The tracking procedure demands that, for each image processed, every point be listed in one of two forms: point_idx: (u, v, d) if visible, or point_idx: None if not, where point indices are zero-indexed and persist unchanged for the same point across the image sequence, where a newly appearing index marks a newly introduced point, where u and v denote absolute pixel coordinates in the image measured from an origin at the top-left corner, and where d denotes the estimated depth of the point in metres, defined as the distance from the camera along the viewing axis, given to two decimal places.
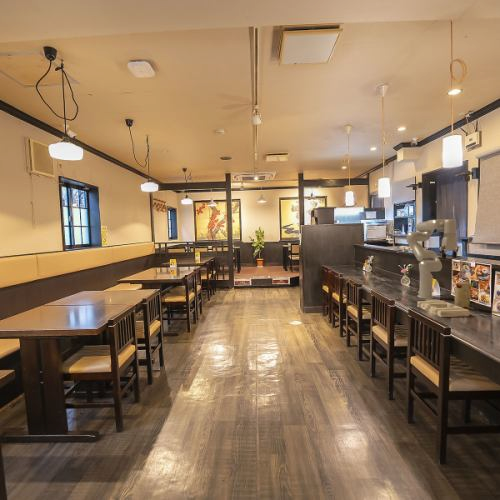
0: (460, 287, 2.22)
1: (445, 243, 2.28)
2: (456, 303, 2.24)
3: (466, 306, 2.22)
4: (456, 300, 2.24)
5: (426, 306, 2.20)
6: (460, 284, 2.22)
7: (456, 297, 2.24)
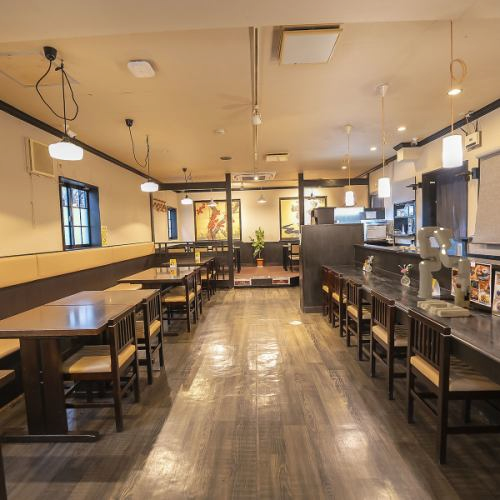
0: (460, 287, 2.22)
1: (469, 284, 2.18)
2: (456, 303, 2.24)
3: (466, 306, 2.22)
4: (456, 300, 2.24)
5: (426, 306, 2.20)
6: (460, 284, 2.22)
7: (456, 297, 2.24)
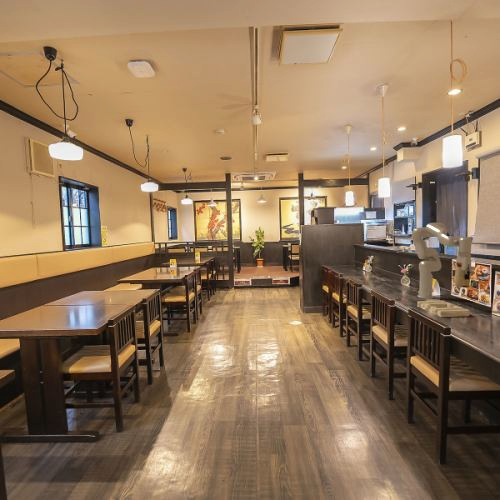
0: (460, 266, 2.21)
1: (470, 263, 2.17)
2: (456, 282, 2.24)
3: (466, 285, 2.21)
4: (456, 279, 2.23)
5: (426, 306, 2.20)
6: (461, 263, 2.21)
7: (456, 276, 2.23)
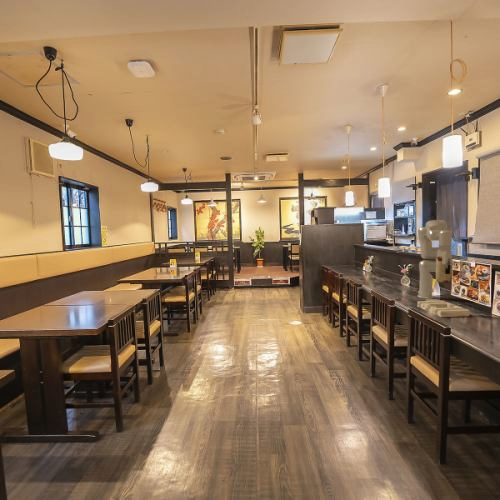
0: (441, 260, 2.14)
1: (450, 257, 2.11)
2: (437, 277, 2.17)
3: (447, 280, 2.14)
4: (437, 274, 2.17)
5: (426, 306, 2.20)
6: (441, 257, 2.14)
7: (437, 271, 2.16)
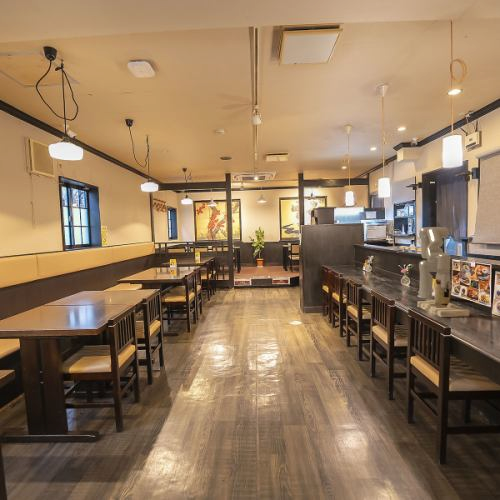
0: (440, 283, 2.15)
1: (449, 280, 2.12)
2: (436, 300, 2.18)
3: (446, 303, 2.15)
4: (436, 296, 2.18)
5: (426, 306, 2.20)
6: (440, 280, 2.16)
7: (436, 293, 2.18)
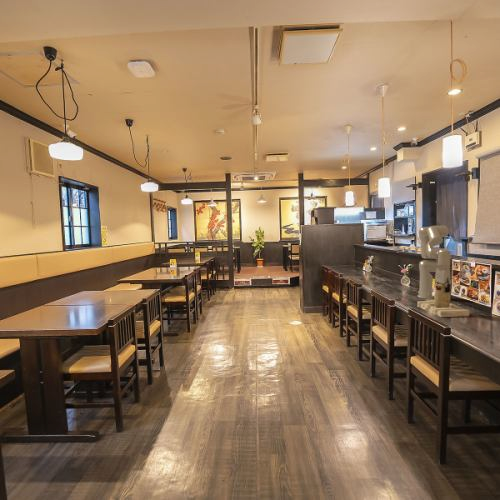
0: (439, 289, 2.16)
1: (449, 276, 2.12)
2: (436, 305, 2.18)
3: None
4: (436, 302, 2.18)
5: (426, 306, 2.20)
6: (439, 286, 2.16)
7: (436, 299, 2.18)
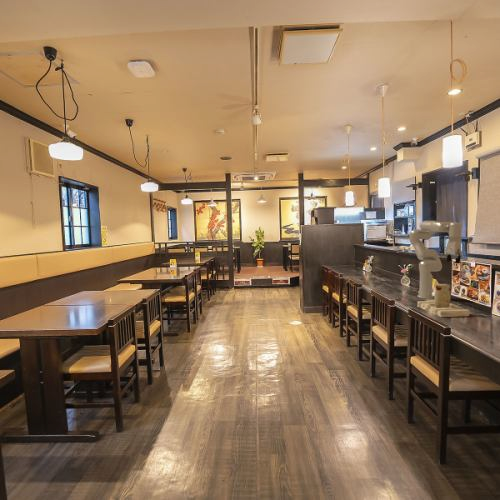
0: (439, 289, 2.16)
1: (460, 247, 2.21)
2: (436, 305, 2.18)
3: None
4: (436, 302, 2.18)
5: (426, 306, 2.20)
6: (440, 286, 2.16)
7: (436, 299, 2.18)
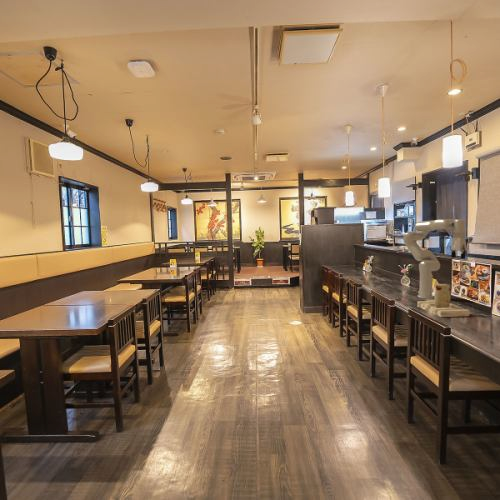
0: (439, 289, 2.16)
1: (464, 243, 2.26)
2: (436, 305, 2.18)
3: None
4: (436, 302, 2.18)
5: (426, 306, 2.20)
6: (440, 286, 2.16)
7: (436, 299, 2.18)
